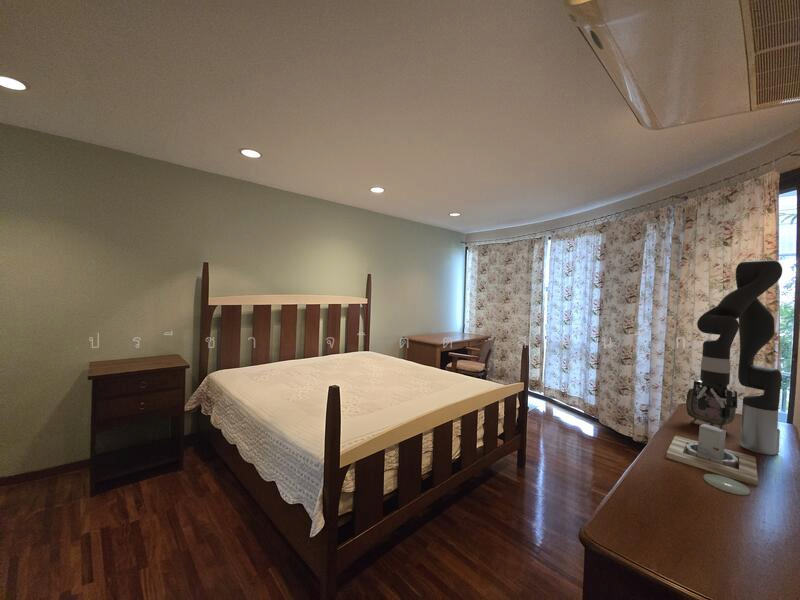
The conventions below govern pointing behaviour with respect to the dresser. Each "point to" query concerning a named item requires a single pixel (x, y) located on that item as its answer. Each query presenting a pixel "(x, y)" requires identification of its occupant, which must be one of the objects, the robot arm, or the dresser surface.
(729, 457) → the segmented octagonal ring
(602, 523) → the dresser surface
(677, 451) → the striped wooden board
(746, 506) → the dresser surface
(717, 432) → the skincare box
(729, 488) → the coaster
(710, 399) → the tabletop clock
